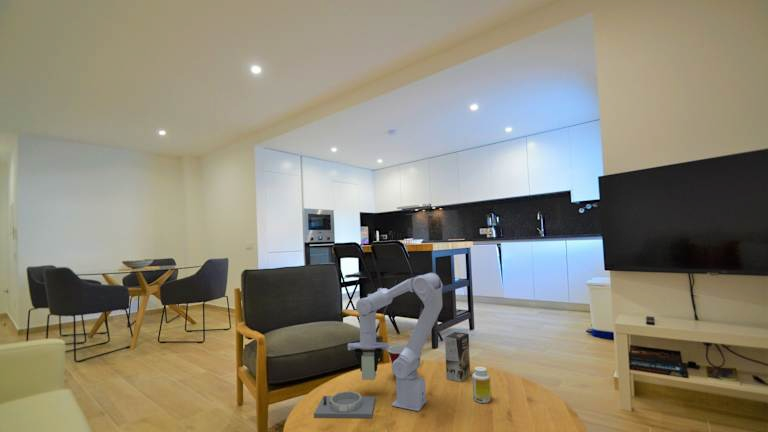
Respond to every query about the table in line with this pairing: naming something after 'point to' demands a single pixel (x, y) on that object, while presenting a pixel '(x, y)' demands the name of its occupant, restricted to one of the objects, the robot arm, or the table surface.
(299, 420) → the table surface
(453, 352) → the coffee box
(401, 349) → the plastic cup
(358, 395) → the collar
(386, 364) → the table surface
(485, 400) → the supplement bottle
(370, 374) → the pale green rectangular block
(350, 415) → the base board
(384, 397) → the table surface
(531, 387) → the table surface
